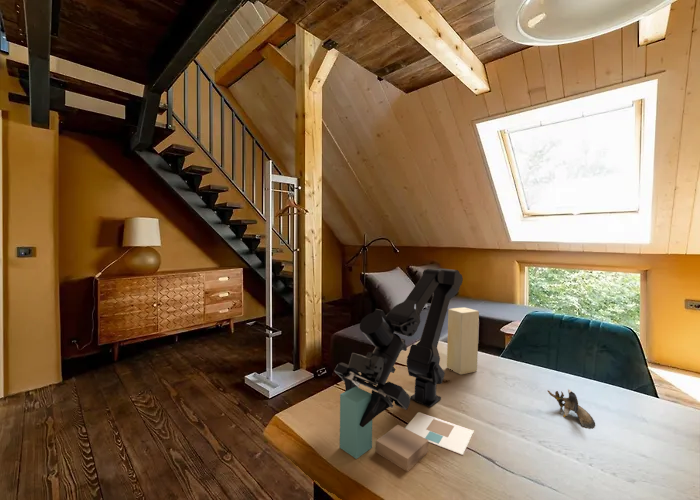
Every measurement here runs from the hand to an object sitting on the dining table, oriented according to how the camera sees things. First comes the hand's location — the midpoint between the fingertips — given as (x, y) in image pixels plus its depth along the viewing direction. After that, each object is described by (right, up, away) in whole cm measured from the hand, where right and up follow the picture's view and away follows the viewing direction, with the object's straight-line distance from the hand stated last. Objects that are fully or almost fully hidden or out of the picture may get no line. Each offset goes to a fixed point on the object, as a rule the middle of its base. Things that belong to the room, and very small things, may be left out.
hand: (351, 420), depth 69 cm
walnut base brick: (+11, -7, 0) cm, 13 cm away
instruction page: (+21, -6, +7) cm, 23 cm away
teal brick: (+1, -7, +1) cm, 7 cm away
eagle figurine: (+57, -7, +14) cm, 59 cm away
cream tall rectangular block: (+38, -5, +43) cm, 58 cm away
